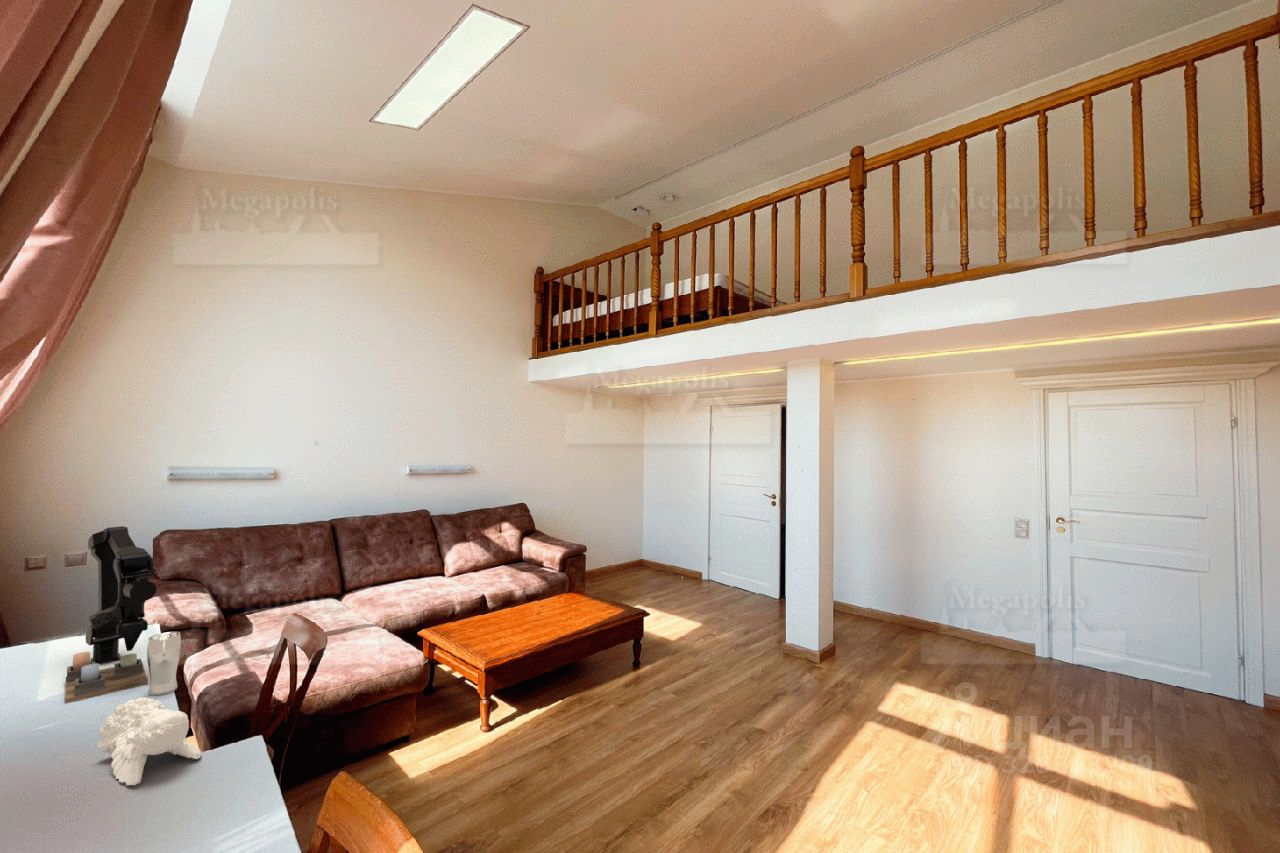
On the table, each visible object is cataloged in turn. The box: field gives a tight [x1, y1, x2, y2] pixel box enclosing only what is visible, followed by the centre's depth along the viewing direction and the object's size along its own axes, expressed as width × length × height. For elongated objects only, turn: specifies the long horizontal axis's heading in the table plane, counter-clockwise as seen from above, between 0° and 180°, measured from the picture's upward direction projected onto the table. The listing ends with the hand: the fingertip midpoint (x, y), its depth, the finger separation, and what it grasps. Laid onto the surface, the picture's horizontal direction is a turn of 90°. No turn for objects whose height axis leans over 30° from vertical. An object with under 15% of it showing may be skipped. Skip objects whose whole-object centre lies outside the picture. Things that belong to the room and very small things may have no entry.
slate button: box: [81, 663, 100, 683], centre depth 147 cm, size 3×3×4 cm
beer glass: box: [146, 631, 182, 697], centre depth 149 cm, size 7×7×15 cm
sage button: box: [120, 653, 138, 667], centre depth 157 cm, size 3×3×4 cm
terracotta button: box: [72, 651, 91, 671], centre depth 155 cm, size 3×3×4 cm
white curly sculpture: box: [97, 696, 202, 786], centre depth 117 cm, size 13×12×20 cm
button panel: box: [64, 658, 149, 704], centre depth 154 cm, size 19×16×4 cm
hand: (129, 650), depth 157 cm, fingers closed
